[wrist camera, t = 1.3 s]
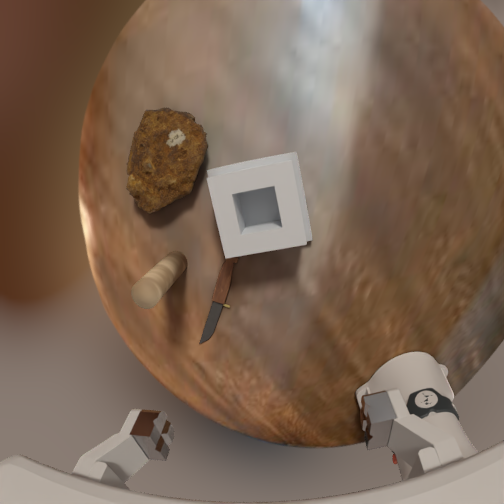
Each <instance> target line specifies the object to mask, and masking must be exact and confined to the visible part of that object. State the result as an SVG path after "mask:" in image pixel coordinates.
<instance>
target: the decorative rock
mask: <svg viewBox="0 0 504 504" xmlns="http://www.w3.org/2000/svg"><path fill="white" fill-rule="evenodd" d="M194 120H195V117H194V116H193V115H192V114H190V113H187V112H178V111H173V110H171V109H169V108H161V109H159V110H146V111H145V113H144V114H143V118H142V120H141V122H140V125H139V128H138V130H137V131H136V132H135V133H134V137H133V141H132V146H131V150H130V154H129V157H128V160H129V161H128V163H127V174H128V175H129V177H128V183H127V190H128V191H130V195H132V196H133V197H134V198H135V201H136V203H137V205H138V207H139V208H141V209H143V210H144V211H146V212H147V213H148V214H151V213H152V212H155V211H159V210H160V209H161V208H162V207H165V206H166V205H169V204H171V203H172V202H173V201H175V200H176V199H180V198H182V197H184V196H185V195H188V194H190V193H191V191H192V188H193V185H194V182H195V180H196V177H197V173H198V171H199V167H200V166H201V164H202V163H203V160H204V156H205V153H206V150H207V148H208V145H207V142H206V134H207V133H205V132H204V130H203V127H202V125H199V124H196V123H195V122H194Z"/></svg>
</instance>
